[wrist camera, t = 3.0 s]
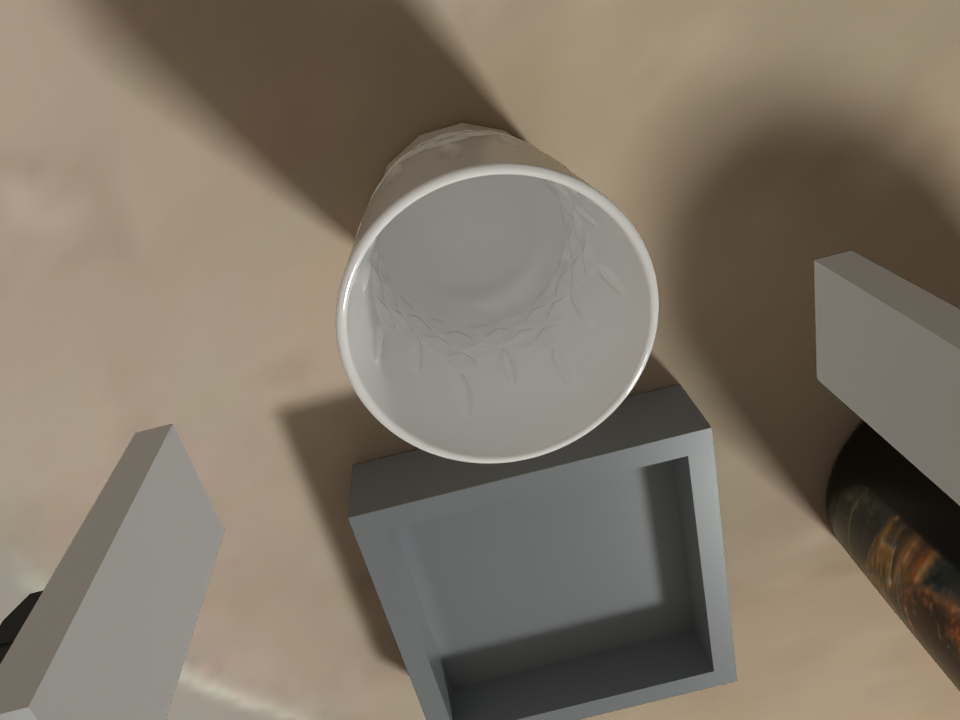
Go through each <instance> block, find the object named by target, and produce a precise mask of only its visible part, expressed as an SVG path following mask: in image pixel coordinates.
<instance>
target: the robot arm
mask: <svg viewBox="0 0 960 720" xmlns="http://www.w3.org/2000/svg"><path fill="white" fill-rule="evenodd" d="M814 281H815V322H816V363H817V380H819V381H820V382H821V383H822V384H823V385H824V386H825V387H826V388H828V389H829V390H830V391H831V392H832V393H833V394H834V395H835V396H837V397H838V398H839V399H840V400H841V401H842V402H843V403H844V404H846V405H847V406H848V407H849V408H850V409H851V410H852V411H854V412H855V413H856V414H857V415H858V416H859V417H860V418H861V419H863V420H864V421H865V422H866V423H867V424H868V425H869V426H870V427H872V428H873V429H874V430H875V431H876V432H877V433H878V434H879V435H881V436H882V437H883V438H884V439H885V440H886V441H887V442H888V443H890V444H891V445H892V446H893V447H894V448H895V449H896V450H897V451H899V452H900V453H901V454H902V455H903V456H904V457H905V458H906V459H908V460H909V461H910V462H911V463H912V464H913V465H914V466H915V467H917V468H918V469H919V470H920V471H921V472H922V473H923V474H925V475H926V476H927V477H928V478H929V479H930V480H931V481H932V482H934V483H935V484H936V485H937V486H938V487H939V488H940V489H941V490H943V491H944V492H945V493H946V494H947V495H948V496H949V497H950V498H952V499H953V500H954V501H955V502H956V503H957V504H958V505H959V506H960V309H958V308H957V307H955V306H953V305H951V304H949V303H947V302H946V301H944V300H942V299H940V298H938V297H936V296H934V295H933V294H931V293H929V292H927V291H925V290H923V289H922V288H920V287H918V286H916V285H914V284H912V283H911V282H909V281H907V280H905V279H903V278H901V277H899V276H898V275H896V274H894V273H892V272H890V271H888V270H887V269H885V268H883V267H881V266H879V265H877V264H876V263H874V262H872V261H870V260H868V259H866V258H865V257H863V256H861V255H859V254H857V253H855V252H853V251H852V250H851V251H847V252H843V253H839V254H835V255H832V256H828V257H824V258H820V259H816V260H814ZM224 531H225V529H224V527H223V525H222V523H221V521H220V519H219V517H218V515H217V513H216V511H215V509H214V507H213V505H212V503H211V501H210V499H209V496H208V494H207V492H206V490H205V488H204V486H203V484H202V482H201V480H200V478H199V476H198V474H197V472H196V470H195V468H194V466H193V464H192V462H191V460H190V458H189V456H188V453H187V451H186V449H185V447H184V445H183V443H182V441H181V439H180V437H179V435H178V433H177V431H176V429H175V427H174V425H173V424H169V425H165V426H161V427H157V428H153V429H149V430H145V431H141V432H138V433H135V435H134V436H133V438H132V440H131V442H130V443H129V445H128V447H127V448H126V450H125V452H124V454H123V455H122V457H121V459H120V460H119V462H118V464H117V466H116V467H115V469H114V471H113V472H112V474H111V476H110V477H109V479H108V481H107V483H106V484H105V486H104V488H103V489H102V491H101V493H100V495H99V496H98V498H97V500H96V501H95V503H94V505H93V507H92V508H91V510H90V512H89V513H88V515H87V517H86V519H85V520H84V522H83V524H82V525H81V527H80V529H79V531H78V532H77V534H76V536H75V537H74V539H73V541H72V543H71V544H70V546H69V548H68V549H67V551H66V553H65V555H64V556H63V558H62V560H61V561H60V563H59V565H58V566H57V568H56V570H55V572H54V573H53V575H52V577H51V578H50V580H49V582H48V584H47V585H46V587H45V589H44V590H43V591H40V592H36V593H32V594H29V595H28V596H27V598H25V599H24V600H23V601H22V602H21V603H20V604H19V605H18V606H17V608H16V609H14V611H12V612H11V613H10V614H9V615H8V616H7V617H6V618H5V619H4V620H3V622H2V623H1V625H0V720H166V718H167V715H168V712H169V709H170V705H171V702H172V699H173V696H174V693H175V689H176V686H177V683H178V680H179V676H180V673H181V670H182V667H183V663H184V660H185V657H186V654H187V650H188V647H189V644H190V641H191V638H192V634H193V631H194V628H195V625H196V621H197V618H198V615H199V612H200V608H201V605H202V602H203V599H204V596H205V592H206V589H207V586H208V583H209V579H210V576H211V573H212V570H213V566H214V563H215V560H216V557H217V553H218V550H219V547H220V544H221V541H222V537H223V534H224Z"/></svg>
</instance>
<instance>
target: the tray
mask: <svg viewBox="0 0 960 720" xmlns="http://www.w3.org/2000/svg"><path fill="white" fill-rule="evenodd" d="M348 520H349V522H350V525H351V527H352V530H353V532H354V535H355V538H356V540H357V543H358V545H359V548H360V550H361V553H362V556H363V558H364V561H365V563H366V566H367V568H368V571H369V573H370V576H371V579H372V581H373V584H374V586H375V589H376V591H377V594H378V597H379V599H380V602H381V604H382V607H383V609H384V612H385V615H386V617H387V620H388V622H389V625H390V627H391V630H392V633H393V635H394V638H395V640H396V643H397V645H398V648H399V651H400V653H401V656H402V658H403V661H404V663H405V666H406V669H407V671H408V674H409V676H410V679H411V681H412V684H413V687H414V689H415V692H416V694H417V697H418V699H419V702H420V704H421V707H422V710H423V712H424V715H425V717H426V720H580V719H584V718H588V717H592V716H596V715H600V714H604V713H608V712H613V711H617V710H621V709H625V708H629V707H633V706H637V705H641V704H645V703H649V702H653V701H657V700H662V699H666V698H670V697H674V696H678V695H682V694H686V693H690V692H694V691H698V690H702V689H706V688H710V687H715V686H719V685H723V684H727V683H731V682H735V681H737V675H736V665H735V655H734V646H733V636H732V626H731V616H730V606H729V596H728V586H727V576H726V566H725V556H724V546H723V536H722V526H721V516H720V506H719V496H718V486H717V476H716V466H715V456H714V446H713V436H712V427H711V426H710V425H709V423H708V422H707V421H706V419H705V418H704V416H703V415H702V414H701V412H700V411H699V410H698V408H697V407H696V406H695V404H694V403H693V401H692V400H691V399H690V397H689V396H688V395H687V393H686V392H685V390H684V389H683V388H682V386H681V385H680V384H678V385H674V386H670V387H666V388H662V389H658V390H654V391H650V392H646V393H642V394H638V395H634V396H630V397H626V398H625V399H624V401H623V402H622V403H621V404H620V405H619V406H618V407H617V409H616V410H615V411H614V412H613V413H612V414H611V415H610V416H609V417H607V418H606V419H605V420H604V421H603V422H602V423H601V424H599V425H598V426H597V427H595V428H594V429H593V430H591V431H590V432H589V433H587V434H586V435H584V436H582V437H581V438H579V439H577V440H576V441H574V442H572V443H570V444H568V445H566V446H564V447H562V448H560V449H557V450H555V451H553V452H550V453H547V454H544V455H541V456H538V457H534V458H530V459H526V460H521V461H515V462H508V463H492V464H486V463H470V462H463V461H457V460H452V459H448V458H444V457H440V456H437V455H434V454H431V453H429V452H426V451H424V450H421V449H417V450H413V451H409V452H405V453H401V454H397V455H393V456H389V457H385V458H381V459H377V460H373V461H369V462H365V463H361V464H357V465H353V469H352V480H351V490H350V501H349V512H348Z"/></svg>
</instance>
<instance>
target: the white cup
mask: <svg viewBox="0 0 960 720" xmlns="http://www.w3.org/2000/svg"><path fill="white" fill-rule="evenodd" d="M658 313H659V297H658V287H657V281H656V276H655V271H654V268H653V264H652V261H651V258H650V256H649V253H648V251H647V249H646V246H645V244H644V242H643V240H642V239H641V237H640V235H639V233H638V232H637V230H636V229H635V227H634V226H633V224H632V223H631V222H630V221H629V219H628V218H627V217H626V216H625V215H624V213H623V212H622V211H621V210H620V209H619V208H618V207H617V206H616V205H615V204H614V203H613V202H612V201H610V200H609V199H608V198H607V197H606V196H604V195H603V194H602V193H600V192H599V191H598V190H596V189H595V188H593V187H592V186H591V185H589V184H588V183H586V182H585V181H584V180H582V179H581V178H580V177H578V176H577V175H575V174H574V173H573V172H571V171H570V170H569V169H568V168H567V167H565V166H564V165H563V164H562V163H560V162H559V161H557V160H556V159H554V158H552V157H551V156H549V155H547V154H546V153H544V152H542V151H541V150H539V149H537V148H536V147H534V146H533V145H531V144H529V143H527V142H525V141H523V140H521V139H518V138H516V137H514V136H512V135H511V134H510V133H509V132H507V131H505V130H500V129H495V128H489V127H484V126H479V125H473V124H468V123H459V124H456V125H452V126H449V127H445V128H442V129H438V130H435V131H431V132H428V133H424V134H421V135H419V136H418V137H417V138H416V139H415V140H414V141H413V142H412V143H410V144H409V145H408V146H407V147H406V148H405V149H404V150H403V151H402V152H401V153H400V154H398V155H397V156H396V157H395V158H394V159H393V160H392V161H391V162H390V163H389V164H388V165H387V167H386V169H385V172H384V175H383V177H382V179H381V181H380V182H379V184H378V185H377V187H376V189H375V190H374V192H373V194H372V196H371V199H370V201H369V204H368V206H367V208H366V210H365V213H364V215H363V217H362V219H361V222H360V225H359V227H358V231H357V234H356V237H355V241H354V244H353V247H352V250H351V253H350V256H349V259H348V263H347V266H346V269H345V271H344V274H343V277H342V281H341V284H340V288H339V293H338V298H337V306H336V336H337V344H338V349H339V353H340V357H341V361H342V364H343V367H344V370H345V372H346V375H347V377H348V379H349V381H350V383H351V385H352V387H353V389H354V390H355V392H356V394H357V395H358V397H359V398H360V400H361V401H362V403H363V404H364V405H365V407H366V408H367V409H368V410H369V411H370V413H371V414H372V415H373V416H374V417H375V418H376V419H377V420H378V421H379V422H380V423H381V424H382V425H384V426H385V427H386V428H387V429H388V430H390V431H391V432H392V433H394V434H395V435H396V436H398V437H399V438H401V439H403V440H404V441H406V442H408V443H409V444H411V445H413V446H415V447H417V448H419V449H421V450H424V451H426V452H429V453H431V454H434V455H437V456H440V457H444V458H448V459H452V460H457V461H463V462H470V463H486V464H492V463H508V462H515V461H521V460H526V459H530V458H534V457H538V456H541V455H544V454H547V453H550V452H553V451H555V450H557V449H560V448H562V447H564V446H566V445H568V444H570V443H572V442H574V441H576V440H577V439H579V438H581V437H582V436H584V435H586V434H587V433H589V432H590V431H591V430H593V429H594V428H595V427H597V426H598V425H599V424H601V423H602V422H603V421H604V420H605V419H606V418H607V417H609V416H610V415H611V414H612V413H613V412H614V411H615V410H616V409H617V407H618V406H619V405H620V404H621V403H622V402H623V401H624V399H625V398H626V397H627V396H628V394H629V393H630V391H631V390H632V389H633V387H634V386H635V384H636V382H637V381H638V379H639V377H640V375H641V374H642V372H643V370H644V368H645V365H646V363H647V361H648V358H649V356H650V353H651V350H652V347H653V343H654V340H655V335H656V330H657V324H658Z"/></svg>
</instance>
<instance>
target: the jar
mask: <svg viewBox="0 0 960 720" xmlns="http://www.w3.org/2000/svg"><path fill="white" fill-rule="evenodd" d="M826 503H827V514H828V519H829V523H830V525H831V528H832V530H833V532H834V534H835V536H836V537H837V539H838V541H839V542H840V543H841V545H842V546H843V547H844V549H845V550H846V551H847V553H848V554H849V555H850V557H851V558H852V559H853V560H854V562H855V563H856V564H857V565H858V567H859V568H860V569H861V571H862V572H863V573H864V574H865V576H866V577H867V578H868V579H869V581H870V582H871V583H872V584H873V586H874V587H875V588H876V589H877V591H878V592H879V593H880V594H881V596H882V597H883V598H884V599H885V601H886V602H887V603H888V604H889V605H890V607H891V608H892V609H893V610H894V612H895V613H896V614H897V615H898V617H899V618H900V619H901V620H902V622H903V623H904V624H905V625H906V626H907V628H908V629H909V630H910V631H911V633H912V634H913V635H914V636H915V638H916V639H917V640H918V641H919V642H920V644H921V645H922V646H923V647H924V649H925V650H926V651H927V652H928V653H929V655H930V656H931V657H932V658H933V659H934V661H935V662H936V663H937V664H938V666H939V667H940V668H941V669H942V670H943V672H944V673H945V674H946V675H947V677H948V678H949V679H950V680H951V681H952V683H953V684H954V685H955V686H956V687H957V689H958V690H959V691H960V506H959V505H958V504H957V503H956V502H955V501H954V500H953V499H952V498H950V497H949V496H948V495H947V494H946V493H945V492H944V491H943V490H941V489H940V488H939V487H938V486H937V485H936V484H935V483H934V482H932V481H931V480H930V479H929V478H928V477H927V476H926V475H925V474H923V473H922V472H921V471H920V470H919V469H918V468H917V467H915V466H914V465H913V464H912V463H911V462H910V461H909V460H908V459H906V458H905V457H904V456H903V455H902V454H901V453H900V452H899V451H897V450H896V449H895V448H894V447H893V446H892V445H891V444H890V443H888V442H887V441H886V440H885V439H884V438H883V437H882V436H881V435H879V434H878V433H877V432H876V431H875V430H874V429H873V428H872V427H870V426H869V425H868V424H867V423H866V422H865V421H864V422H863V423H862V424H861V425H860V426H859V428H858V429H857V430H856V431H855V433H854V434H853V435H852V436H851V438H850V439H849V441H848V442H847V444H846V445H845V447H844V448H843V450H842V452H841V453H840V455H839V457H838V459H837V461H836V463H835V466H834V468H833V471H832V474H831V477H830V480H829V485H828V490H827V499H826Z"/></svg>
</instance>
